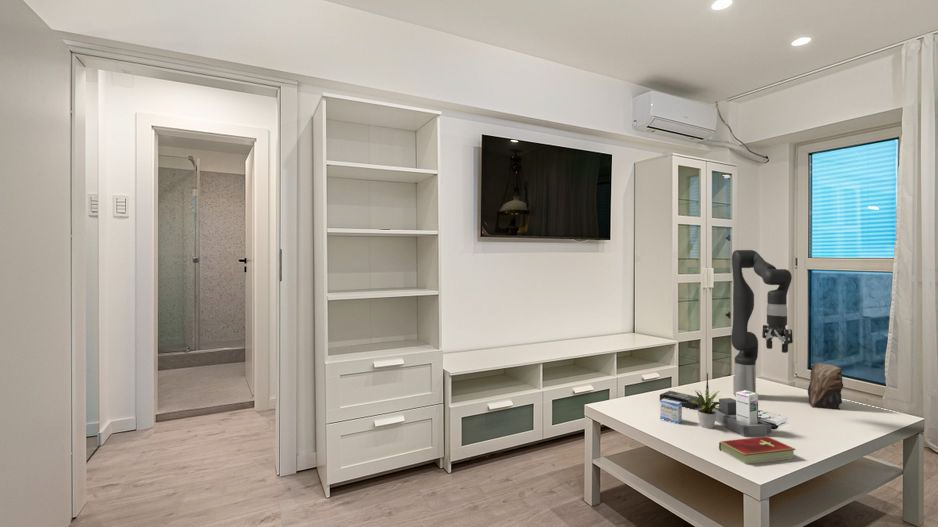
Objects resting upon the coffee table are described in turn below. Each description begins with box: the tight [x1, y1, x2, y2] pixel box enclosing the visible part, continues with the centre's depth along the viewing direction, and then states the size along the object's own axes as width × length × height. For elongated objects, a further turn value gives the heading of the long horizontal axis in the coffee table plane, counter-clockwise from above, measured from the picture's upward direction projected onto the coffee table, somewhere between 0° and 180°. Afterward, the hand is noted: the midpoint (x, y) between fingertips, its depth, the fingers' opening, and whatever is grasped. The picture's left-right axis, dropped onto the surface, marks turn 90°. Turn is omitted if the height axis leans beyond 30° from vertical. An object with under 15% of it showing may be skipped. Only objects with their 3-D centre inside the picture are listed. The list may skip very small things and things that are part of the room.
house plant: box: [685, 388, 722, 429], centre depth 189 cm, size 14×14×16 cm
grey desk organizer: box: [713, 397, 772, 437], centre depth 192 cm, size 27×12×9 cm, turn 6°
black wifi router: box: [659, 372, 710, 410], centre depth 218 cm, size 20×14×17 cm
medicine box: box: [659, 399, 683, 424], centre depth 196 cm, size 8×4×9 cm, turn 47°
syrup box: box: [735, 390, 759, 425], centre depth 184 cm, size 6×6×14 cm
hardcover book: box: [718, 435, 796, 465], centre depth 162 cm, size 12×21×4 cm, turn 102°
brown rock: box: [807, 361, 844, 410], centre depth 214 cm, size 13×13×20 cm
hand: (776, 350), depth 197 cm, fingers open, 8 cm apart
